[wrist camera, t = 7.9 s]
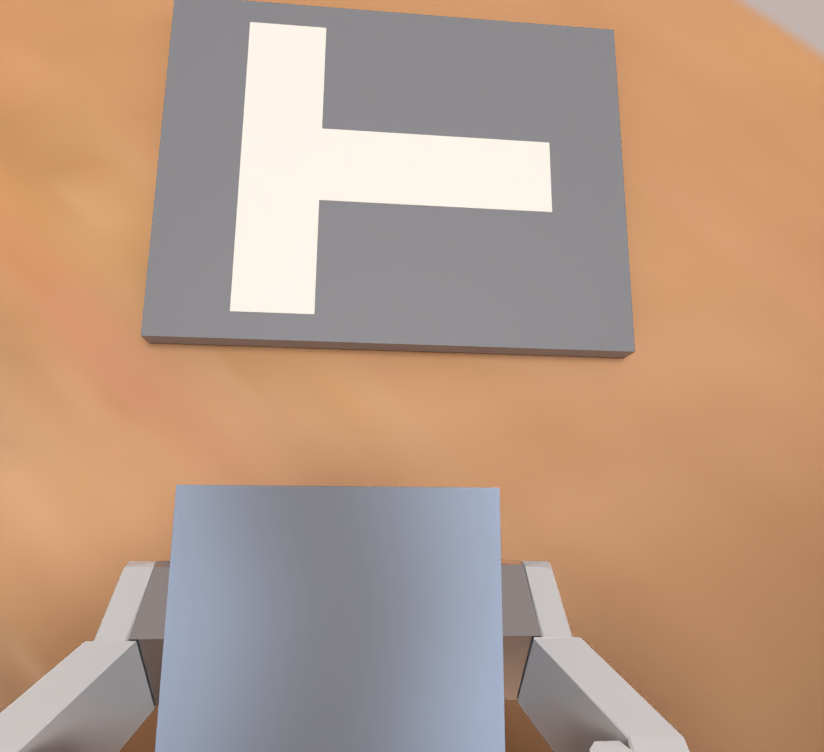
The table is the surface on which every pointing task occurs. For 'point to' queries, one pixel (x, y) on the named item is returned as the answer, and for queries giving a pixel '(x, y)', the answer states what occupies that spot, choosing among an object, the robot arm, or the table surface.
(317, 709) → the slate-blue block
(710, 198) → the table surface
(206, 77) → the letter board
